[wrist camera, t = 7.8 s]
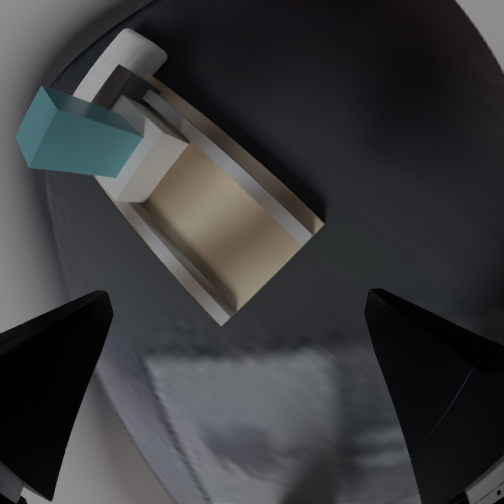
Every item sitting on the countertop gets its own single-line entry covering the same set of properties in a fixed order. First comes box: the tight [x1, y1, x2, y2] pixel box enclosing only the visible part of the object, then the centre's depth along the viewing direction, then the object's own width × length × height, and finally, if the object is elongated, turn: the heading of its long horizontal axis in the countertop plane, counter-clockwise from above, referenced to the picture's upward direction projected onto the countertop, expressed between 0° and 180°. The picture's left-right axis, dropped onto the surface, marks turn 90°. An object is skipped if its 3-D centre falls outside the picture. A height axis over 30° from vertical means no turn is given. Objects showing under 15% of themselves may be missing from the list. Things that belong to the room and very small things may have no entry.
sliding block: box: [16, 86, 189, 203], centre depth 14 cm, size 5×5×9 cm
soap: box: [73, 28, 168, 102], centre depth 19 cm, size 9×6×3 cm, turn 135°
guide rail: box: [68, 64, 325, 326], centre depth 17 cm, size 17×9×5 cm, turn 47°
